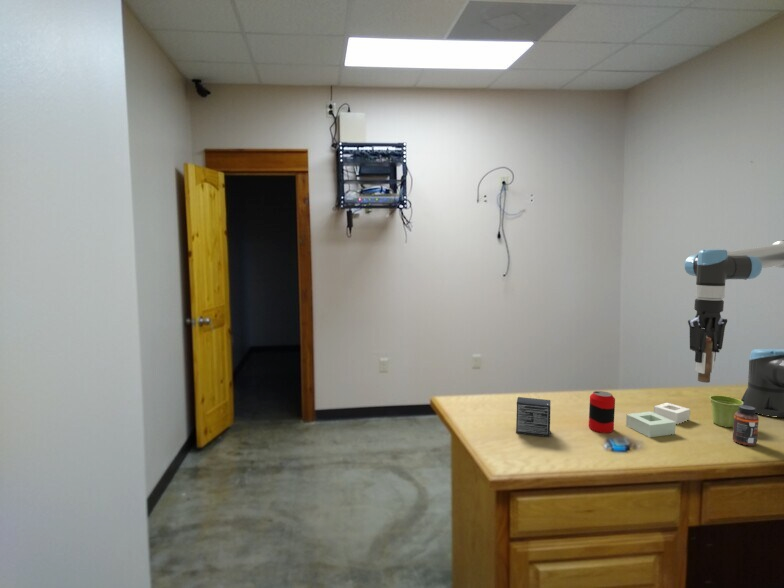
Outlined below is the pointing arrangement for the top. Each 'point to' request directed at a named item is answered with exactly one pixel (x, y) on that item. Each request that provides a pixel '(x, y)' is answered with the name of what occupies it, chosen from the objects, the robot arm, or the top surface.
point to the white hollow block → (673, 412)
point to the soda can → (601, 412)
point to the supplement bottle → (745, 426)
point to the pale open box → (650, 424)
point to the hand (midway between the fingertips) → (704, 371)
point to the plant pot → (724, 409)
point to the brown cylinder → (706, 362)
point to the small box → (533, 416)
